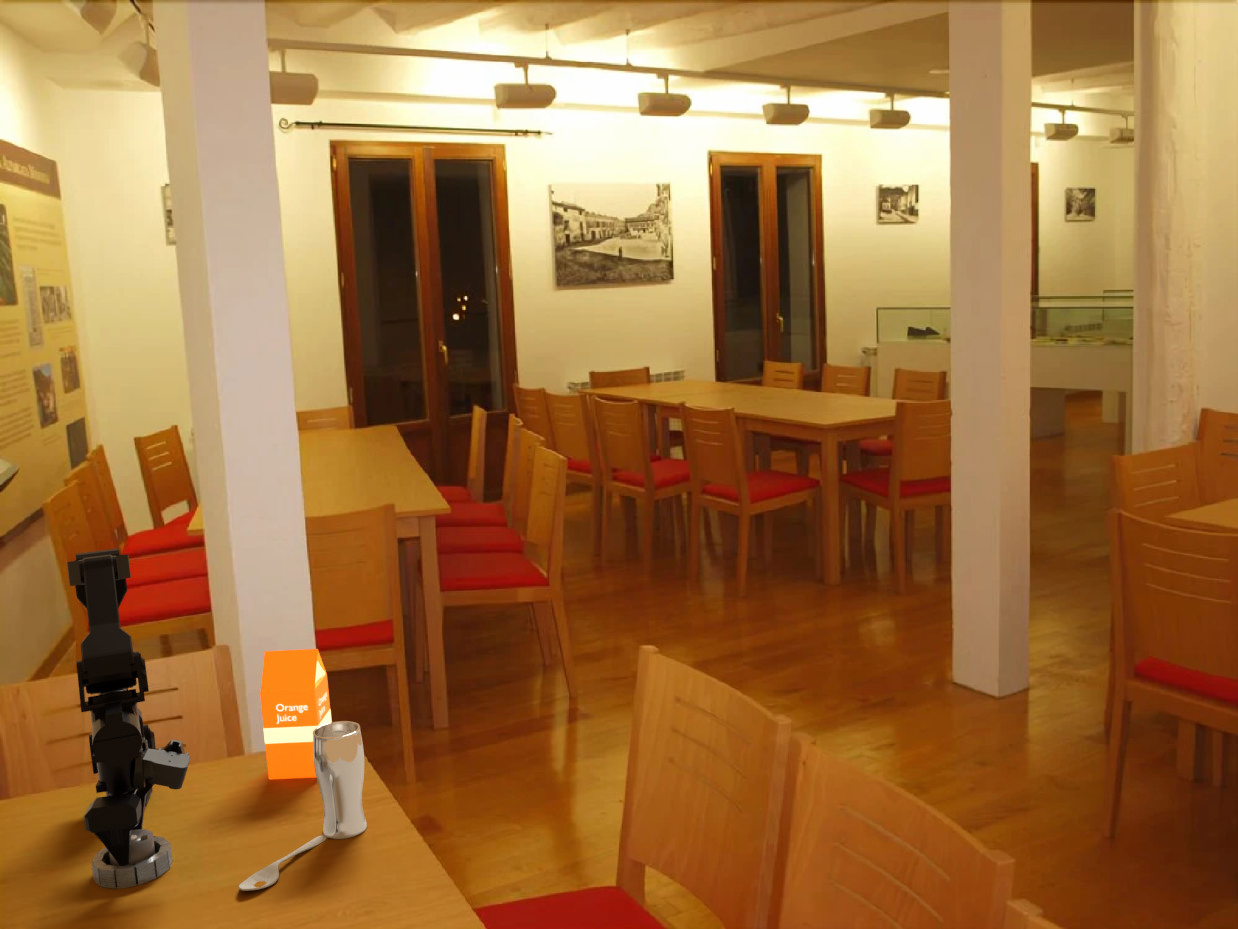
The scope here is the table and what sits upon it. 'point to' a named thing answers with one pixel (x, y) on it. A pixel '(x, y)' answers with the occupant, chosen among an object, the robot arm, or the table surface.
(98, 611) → the robot arm
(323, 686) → the orange juice
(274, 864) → the spoon
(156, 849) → the segmented ring
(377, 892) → the table surface
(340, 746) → the beer glass
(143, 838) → the cap
